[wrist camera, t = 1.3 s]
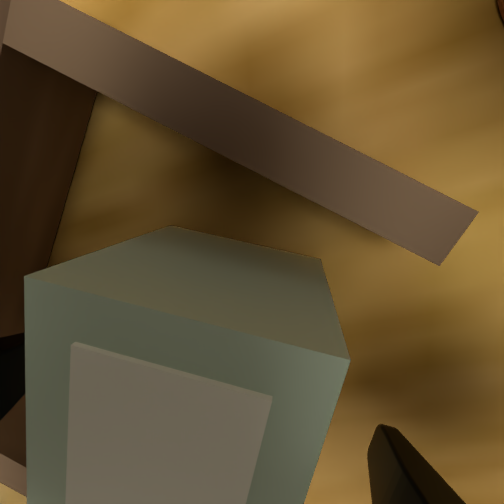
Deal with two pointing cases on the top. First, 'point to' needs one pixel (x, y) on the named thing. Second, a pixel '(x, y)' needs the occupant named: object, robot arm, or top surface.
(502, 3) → the disposable coffee cup
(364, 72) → the top surface
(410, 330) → the top surface
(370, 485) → the robot arm
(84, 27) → the walnut comb rail
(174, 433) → the frame block
